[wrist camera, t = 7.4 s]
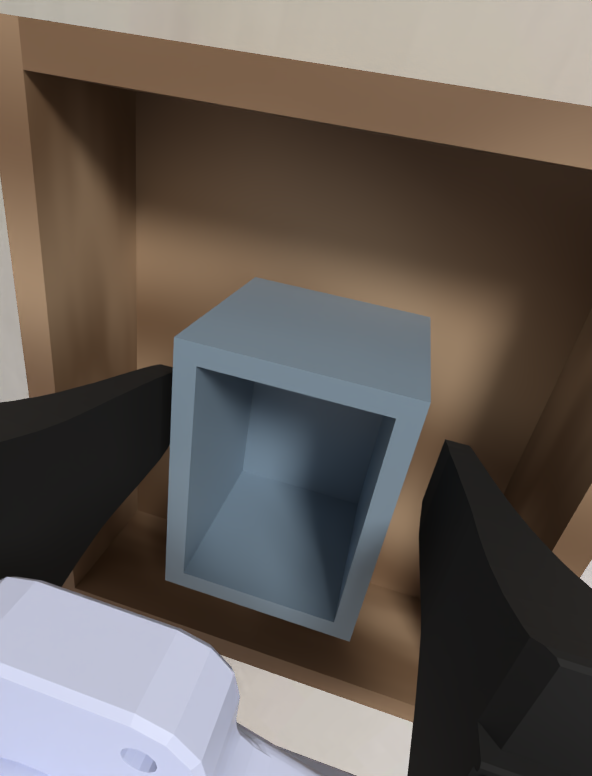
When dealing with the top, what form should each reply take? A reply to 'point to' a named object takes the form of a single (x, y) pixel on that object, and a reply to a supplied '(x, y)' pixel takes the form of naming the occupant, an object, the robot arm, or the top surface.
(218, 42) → the top surface
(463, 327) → the big crate
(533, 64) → the top surface
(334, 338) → the small crate
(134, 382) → the robot arm
